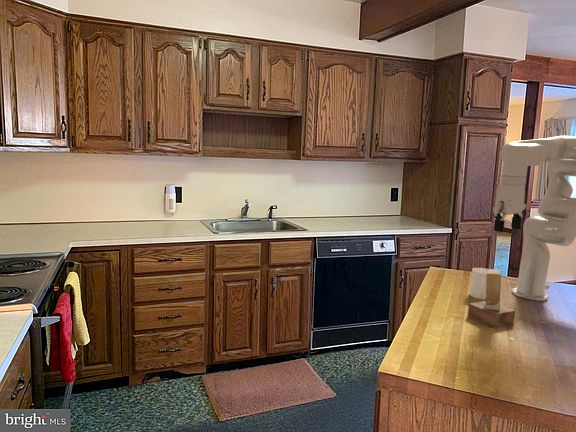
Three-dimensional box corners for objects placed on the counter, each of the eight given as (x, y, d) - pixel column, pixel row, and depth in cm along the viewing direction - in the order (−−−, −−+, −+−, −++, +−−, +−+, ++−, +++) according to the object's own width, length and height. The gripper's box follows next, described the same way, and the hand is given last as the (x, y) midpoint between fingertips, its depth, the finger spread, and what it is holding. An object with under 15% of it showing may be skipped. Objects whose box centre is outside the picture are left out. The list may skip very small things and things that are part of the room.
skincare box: (485, 303, 149) (487, 268, 148) (500, 305, 148) (501, 269, 146) (484, 309, 144) (486, 272, 142) (499, 311, 142) (501, 274, 140)
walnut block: (487, 313, 154) (489, 300, 153) (513, 325, 145) (515, 310, 144) (467, 317, 149) (469, 303, 149) (492, 329, 141) (494, 314, 140)
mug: (492, 305, 161) (496, 278, 160) (468, 300, 165) (471, 274, 163) (492, 295, 172) (495, 270, 170) (469, 291, 176) (472, 266, 174)
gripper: (517, 178, 157) (511, 225, 161) (487, 180, 149) (481, 230, 152) (538, 181, 151) (532, 229, 154) (508, 183, 142) (501, 235, 146)
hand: (507, 229), depth 153 cm, fingers open, 9 cm apart
